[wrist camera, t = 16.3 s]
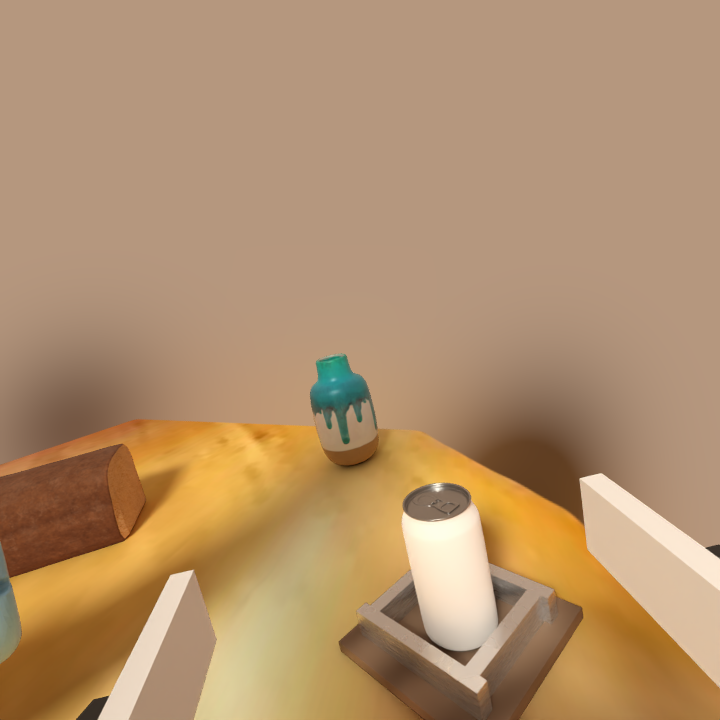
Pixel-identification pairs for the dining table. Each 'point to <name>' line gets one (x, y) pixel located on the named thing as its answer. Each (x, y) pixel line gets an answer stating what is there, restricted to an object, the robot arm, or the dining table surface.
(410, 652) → the grey hollow square frame
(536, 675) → the collar base
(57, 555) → the bread
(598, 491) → the robot arm
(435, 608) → the can
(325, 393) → the vase
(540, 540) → the dining table surface
